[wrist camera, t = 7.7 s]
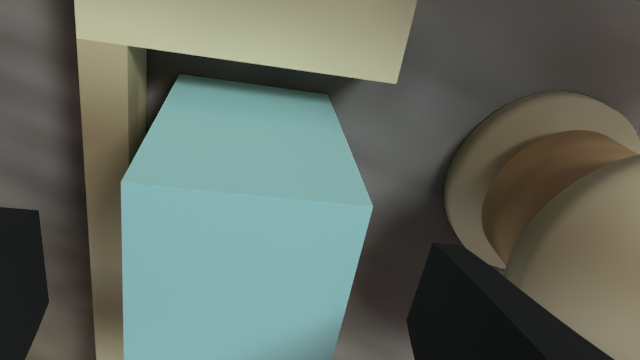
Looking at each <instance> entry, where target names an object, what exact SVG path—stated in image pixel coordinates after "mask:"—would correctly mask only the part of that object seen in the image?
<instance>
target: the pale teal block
mask: <svg viewBox="0 0 640 360" xmlns="http://www.w3.org/2000/svg"><path fill="white" fill-rule="evenodd" d="M372 209H373V205H372V203H371V200H370V198H369V195H368V193H367V190H366V188H365V185H364V183H363V180H362V178H361V175H360V173H359V170H358V168H357V165H356V163H355V160H354V158H353V156H352V153H351V151H350V148H349V146H348V143H347V141H346V138H345V136H344V133H343V131H342V128H341V126H340V123H339V121H338V118H337V116H336V113H335V111H334V108H333V106H332V103H331V101H330V98H329V96H328V94H321V93H314V92H306V91H299V90H292V89H285V88H278V87H271V86H264V85H256V84H249V83H242V82H235V81H228V80H221V79H214V78H206V77H199V76H192V75H185V74H179V76H178V78H177V80H176V82H175V83H174V85H173V87H172V89H171V91H170V93H169V94H168V96H167V98H166V100H165V102H164V104H163V105H162V107H161V109H160V111H159V113H158V115H157V116H156V118H155V120H154V122H153V124H152V126H151V127H150V129H149V131H148V133H147V135H146V137H145V138H144V140H143V142H142V144H141V146H140V148H139V150H138V151H137V153H136V155H135V157H134V159H133V161H132V162H131V164H130V166H129V168H128V170H127V172H126V173H125V175H124V177H123V179H122V181H121V224H122V283H123V341H124V360H332V359H333V355H334V351H335V347H336V344H337V340H338V336H339V332H340V329H341V325H342V321H343V317H344V314H345V310H346V306H347V303H348V299H349V295H350V291H351V288H352V284H353V280H354V276H355V273H356V269H357V265H358V261H359V258H360V254H361V250H362V246H363V243H364V239H365V235H366V231H367V228H368V224H369V220H370V217H371V213H372Z"/></svg>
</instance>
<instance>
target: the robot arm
mask: <svg viewBox="0 0 640 360" xmlns="http://www.w3.org/2000/svg"><path fill="white" fill-rule="evenodd" d="M48 303H49V299H48V290H47V281H46V272H45V263H44V255H43V246H42V237H41V228H40V219H39V211H38V210H27V209H15V208H3V207H0V360H25V358H26V356H27V354H28V352H29V349H30V347H31V345H32V342H33V340H34V338H35V335H36V333H37V331H38V328H39V326H40V323H41V321H42V318H43V316H44V313H45V311H46V308H47V306H48ZM406 321H407V326H408V331H409V335H410V340H411V345H412V350H413V354H414V358H415V360H614V359H613V358H612V357H610V356H609V355H607V354H606V353H605V352H603V351H602V350H600V349H599V348H597V347H596V346H595V345H593V344H592V343H590V342H589V341H588V340H586V339H585V338H583V337H582V336H581V335H579V334H578V333H577V332H575V331H574V330H573V329H571V328H570V327H568V326H567V325H566V324H564V323H563V322H562V321H560V320H559V319H558V318H557V317H555V316H554V315H553V314H551V313H550V312H549V311H547V310H546V309H545V308H543V307H542V306H541V305H540V304H538V303H537V302H536V301H534V300H533V299H532V298H531V297H529V296H528V295H527V294H525V293H524V292H523V291H522V290H520V289H519V288H518V287H517V286H515V285H514V284H513V283H511V282H510V281H509V280H508V279H506V278H505V277H504V276H503V275H501V274H500V273H499V272H497V271H496V270H495V269H494V268H492V267H491V266H490V265H488V264H487V263H486V262H484V261H483V260H482V259H480V258H479V257H478V256H476V255H475V254H474V253H472V252H471V251H469V250H468V249H466V248H465V247H463V246H461V245H450V244H438V243H433V244H432V247H431V250H430V253H429V256H428V258H427V261H426V264H425V267H424V270H423V273H422V276H421V279H420V282H419V285H418V288H417V291H416V294H415V297H414V300H413V303H412V306H411V309H410V311H409V314H408V317H407V320H406Z"/></svg>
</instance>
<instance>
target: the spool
mask: <svg viewBox="0 0 640 360" xmlns="http://www.w3.org/2000/svg"><path fill="white" fill-rule="evenodd" d="M444 207H445V212H446V215H447V218H448V221H449V223H450V225H451V226H452V228H453V230H454V231H455V233H456V235H457V236H458V238H459V239H460V241H461V242H462V244H463V245H464V246H465V248H466V249H468V250H469V251H471V252H472V253H474V254H475V255H476V256H478V257H479V258H480V259H482V260H483V261H484V262H486V263H487V264H489V265H491V266H495V267H498V268H502V269H505V273H504V277H505V278H506V279H508V280H509V281H510V282H511V283H513V284H514V285H515V286H517V287H518V288H519V289H520V290H522V291H523V292H524V293H525V294H527V295H528V296H529V297H531V298H532V299H533V300H534V301H536V302H537V303H538V304H540V305H541V306H542V307H543V308H545V309H546V310H547V311H549V312H550V313H551V314H553V315H554V316H555V317H557V318H558V319H559V320H560V321H562V322H563V323H564V324H566V325H567V326H568V327H570V328H571V329H573V330H574V331H575V332H577V333H578V334H579V335H581V336H582V337H583V338H585V339H586V340H588V341H589V342H590V343H592V344H593V345H595V346H596V347H597V348H599V349H600V350H602V351H603V352H605V353H606V354H607V355H609V356H610V357H612V358H613V359H614V360H640V140H639V137H638V135H637V133H636V131H635V129H634V127H633V126H632V125H631V123H630V122H629V121H628V120H627V119H626V118H625V117H624V116H623V115H622V114H621V113H619V112H618V111H616V110H614V109H613V108H611V107H609V106H607V105H605V104H603V103H601V102H600V101H598V100H596V99H594V98H591V97H589V96H586V95H584V94H580V93H575V92H568V91H550V92H543V93H538V94H533V95H530V96H527V97H524V98H521V99H519V100H516V101H514V102H512V103H510V104H508V105H506V106H504V107H502V108H501V109H499V110H497V111H496V112H494V113H493V114H492V115H490V116H489V117H488V118H486V119H485V120H484V121H483V122H482V123H481V124H479V125H478V126H477V127H476V128H475V129H474V130H473V131H472V132H471V134H470V135H469V136H468V137H467V138H466V139H465V141H464V142H463V143H462V145H461V146H460V148H459V149H458V151H457V153H456V154H455V156H454V158H453V160H452V162H451V165H450V167H449V170H448V172H447V176H446V180H445V186H444Z"/></svg>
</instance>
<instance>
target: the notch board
mask: <svg viewBox="0 0 640 360" xmlns="http://www.w3.org/2000/svg"><path fill="white" fill-rule="evenodd" d="M417 1H418V0H74V7H75V23H76V39H77V55H78V71H79V88H80V104H81V120H82V136H83V153H84V169H85V185H86V201H87V217H88V234H89V250H90V266H91V282H92V298H93V315H94V331H95V347H96V360H124V341H123V283H122V224H121V181H122V179H123V177H124V175H125V173H126V172H127V170H128V168H129V166H130V164H131V162H132V161H133V159H134V157H135V155H136V153H137V151H138V150H139V148H140V146H141V144H142V142H143V140H144V138H145V137H146V111H147V49H154V50H161V51H168V52H175V53H182V54H189V55H196V56H203V57H210V58H217V59H224V60H231V61H238V62H245V63H252V64H259V65H266V66H273V67H280V68H287V69H294V70H301V71H308V72H315V73H322V74H329V75H336V76H343V77H350V78H357V79H364V80H371V81H378V82H385V83H392V84H397V80H398V76H399V72H400V68H401V64H402V60H403V56H404V52H405V48H406V44H407V40H408V36H409V32H410V28H411V24H412V20H413V17H414V13H415V9H416V5H417Z"/></svg>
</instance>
